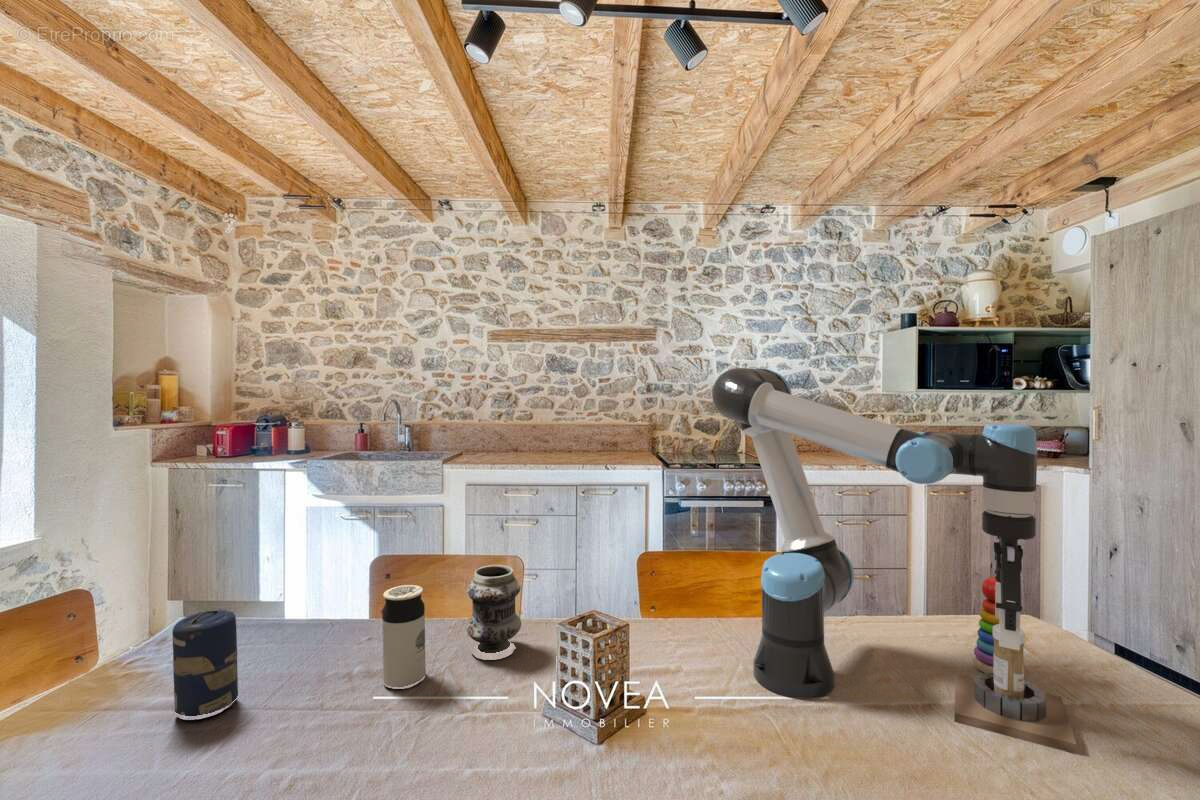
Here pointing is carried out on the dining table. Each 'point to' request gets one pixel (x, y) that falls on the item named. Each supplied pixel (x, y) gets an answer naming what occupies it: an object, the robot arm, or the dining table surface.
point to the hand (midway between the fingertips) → (1006, 632)
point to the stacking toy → (986, 629)
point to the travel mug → (403, 636)
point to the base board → (1043, 732)
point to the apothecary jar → (493, 607)
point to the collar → (1010, 700)
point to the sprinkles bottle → (1008, 667)
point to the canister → (205, 662)
